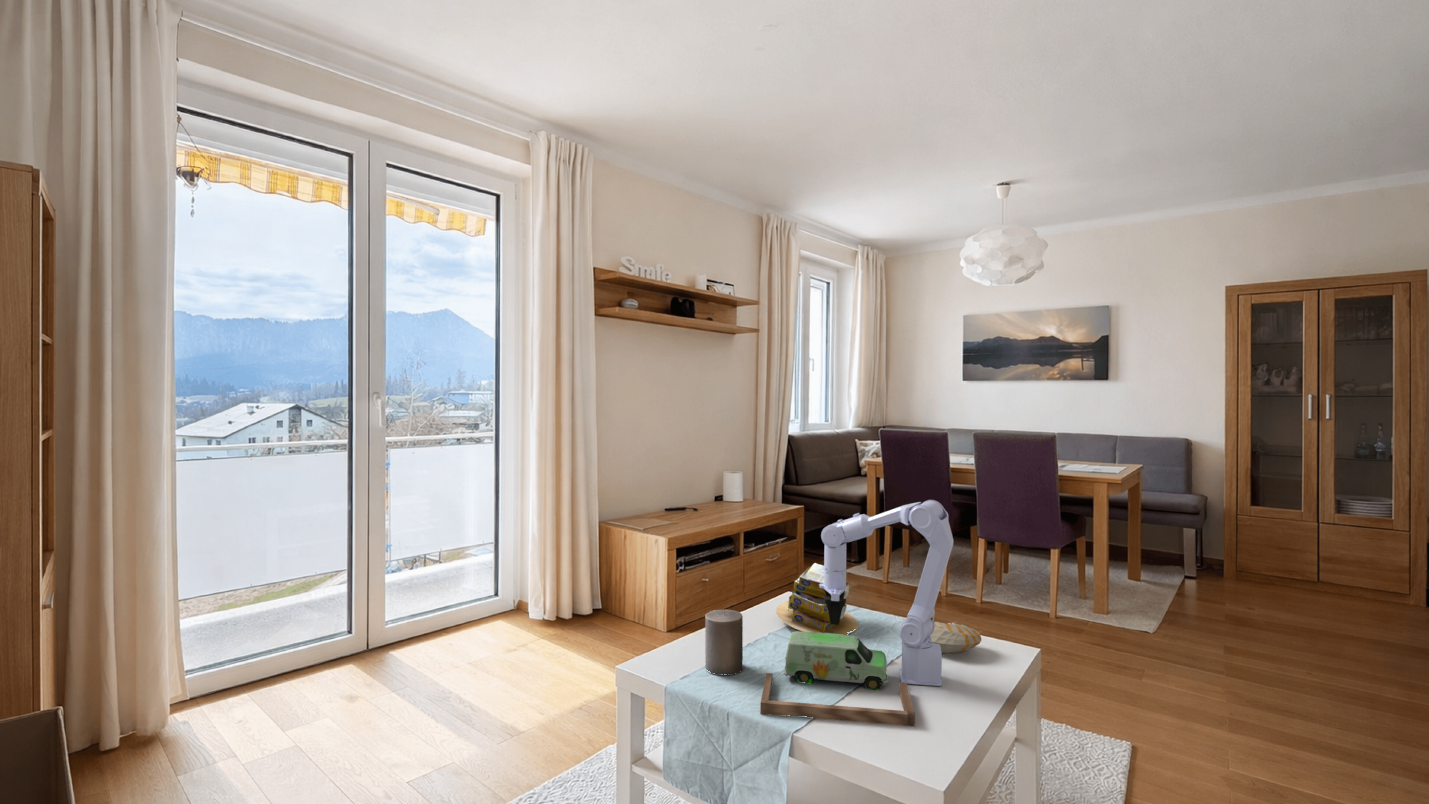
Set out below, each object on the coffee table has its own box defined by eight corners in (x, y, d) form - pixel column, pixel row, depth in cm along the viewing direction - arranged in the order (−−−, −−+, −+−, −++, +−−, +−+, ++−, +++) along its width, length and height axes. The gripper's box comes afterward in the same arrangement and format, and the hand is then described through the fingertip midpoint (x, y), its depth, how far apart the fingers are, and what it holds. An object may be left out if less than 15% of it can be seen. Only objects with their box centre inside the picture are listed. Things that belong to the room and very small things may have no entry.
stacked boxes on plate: (873, 622, 214) (874, 568, 213) (828, 644, 195) (829, 585, 195) (806, 604, 230) (807, 554, 230) (759, 623, 212) (760, 569, 211)
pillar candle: (750, 667, 179) (750, 609, 179) (725, 679, 172) (725, 618, 172) (722, 658, 186) (722, 601, 185) (696, 669, 178) (696, 610, 178)
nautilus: (891, 647, 195) (917, 636, 206) (965, 664, 180) (989, 651, 191) (890, 618, 196) (916, 608, 206) (965, 633, 181) (988, 622, 192)
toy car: (887, 692, 166) (888, 651, 166) (783, 682, 171) (783, 642, 170) (885, 674, 176) (886, 635, 176) (787, 665, 181) (788, 627, 181)
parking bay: (906, 693, 165) (906, 682, 165) (914, 726, 149) (914, 714, 149) (766, 683, 170) (766, 672, 170) (760, 713, 154) (760, 702, 154)
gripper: (819, 561, 192) (819, 610, 193) (819, 575, 178) (819, 628, 178) (846, 562, 191) (845, 611, 192) (847, 577, 177) (847, 630, 177)
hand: (834, 619), depth 185 cm, fingers open, 6 cm apart
